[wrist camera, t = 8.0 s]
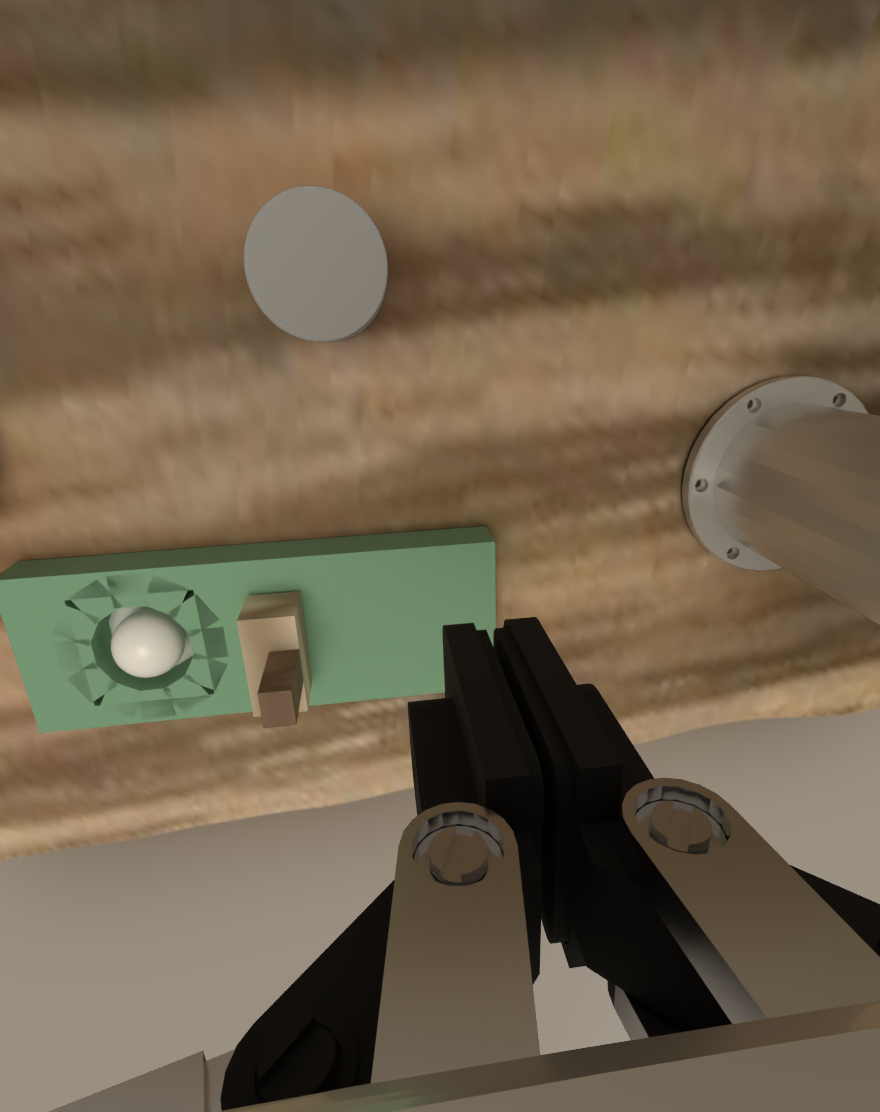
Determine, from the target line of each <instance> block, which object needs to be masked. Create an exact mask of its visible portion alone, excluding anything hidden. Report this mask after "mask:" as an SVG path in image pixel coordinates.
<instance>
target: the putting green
mask: <svg viewBox="0 0 880 1112" xmlns="http://www.w3.org/2000/svg"><path fill="white" fill-rule="evenodd" d="M297 591H300V592H301V600H302V607H303V615H304V622H305V630H306V637H307V645H308V652H309V660H310V667H311V675H312V686H311V693H310V700H309V706H312V705H322V704H332V703H342V702H352V701H362V700H372V699H382V698H392V697H402V696H412V695H422V694H432V693H441V692H445V682H444V659H443V634H442V631H443V625H453V624H464V623H474V625H475V627H476V630H487V632H488V635H489V637H490V640H491V642H492V645H493V634H494V629H496V585H495V541H494V539H493V537H492V536H491V534H490V532H489V531H488V529H487V527H486V526H479V527H465V528H452V529H439V530H425V531H412V532H399V533H385V534H372V535H359V536H346V537H332V538H319V539H306V540H292V541H279V542H266V543H252V544H239V545H226V546H213V547H199V548H186V549H173V550H159V551H146V552H133V553H119V554H106V555H93V556H80V557H66V558H53V559H40V560H26V561H18V562H16V563H15V564H13V565H12V566H11V567H9V568H8V569H6V570H5V571H3V572H2V573H0V614H1V617H2V620H3V623H4V626H5V629H6V632H7V635H8V638H9V641H10V644H11V647H12V650H13V653H14V656H15V659H16V662H17V665H18V668H19V671H20V674H21V677H22V680H23V683H24V686H25V689H26V692H27V695H28V698H29V701H30V704H31V707H32V710H33V713H34V716H35V719H36V722H37V725H38V728H39V731H40V733H45V732H55V731H65V730H74V729H84V728H94V727H104V726H114V725H124V724H134V723H144V722H154V721H164V720H174V719H184V718H193V717H203V716H213V715H223V714H233V713H243V712H253V710H252V705H251V699H250V694H249V688H248V682H247V677H246V671H245V665H244V660H243V654H242V649H241V643H240V637H239V632H238V626H237V619H238V616H239V614H240V612H241V609H242V607H243V604H244V602H245V600H246V597H247V596H249V595H261V594H273V593H285V592H297ZM143 610H157V611H161V612H163V613H166V614H169V615H170V616H172V617H173V618H174V619H175V620H176V621H177V622H178V623H179V624H180V626H181V627H182V630H183V632H184V636H185V648H184V652H183V654H182V656H181V658H180V660H179V661H178V663H177V664H176V665H175V666H174V667H173V668H172V669H170V670H169V671H167V672H166V673H164V674H161V675H159V676H155V677H149V678H142V677H136V676H133V675H130V674H128V673H126V672H125V671H123V670H122V669H121V668H120V667H119V666H118V665H117V664H116V662H115V660H114V658H113V656H112V652H111V639H112V635H113V633H114V631H115V629H116V627H117V626H118V625H119V623H120V622H121V621H122V620H124V619H125V618H126V617H128V616H129V615H131V614H133V613H136V612H139V611H143Z"/></svg>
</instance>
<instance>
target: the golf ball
mask: <svg viewBox="0 0 880 1112" xmlns="http://www.w3.org/2000/svg"><path fill="white" fill-rule="evenodd" d="M184 648H185V636H184V632H183V630H182V627H181V626H180V624H179V623H178V622H177V621H176V620H175V619H174V618H173V617H172V616H170V615H169V614H166V613H163V612H161V611H157V610H143V611H139V612H136V613H133V614H131V615H129V616H128V617H126V618H125V619H124V620H122V621H121V622H120V623H119V625H118V626H117V627H116V629H115V631H114V633H113V635H112V639H111V652H112V656H113V658H114V660H115V662H116V664H117V665H118V666H119V667H120V668H121V669H122V670H123V671H125V672H126V673H128V674H130V675H133V676H136V677H142V678H149V677H155V676H159V675H161V674H164V673H166V672H167V671H169V670H170V669H172V668H173V667H174V666H175V665H176V664H177V663H178V661H179V660H180V658H181V656H182V654H183V652H184Z"/></svg>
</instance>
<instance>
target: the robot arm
mask: <svg viewBox="0 0 880 1112" xmlns="http://www.w3.org/2000/svg"><path fill="white" fill-rule="evenodd" d="M748 402H749V404H748ZM747 405H748V406H747ZM697 481H698V482H697ZM696 482H697V484H696ZM695 484H696V485H695ZM682 499H683V508H684V512H685V517H686V521H687V523H688V525H689V527H690V529H691V531H692V533H693V535H694V537H695V538H696V539H697V540H698V542H699V543H700V544H701V545H702V546H703V548H705V549H706V550H707V551H709V552H710V553H711V554H712V555H714V556H715V557H717V558H718V559H720V560H721V561H723V562H725V563H726V564H728V565H731V566H735V567H738V568H741V569H744V570H754V571H767V570H777V569H781V568H783V569H785V570H787V571H788V572H790V573H792V574H794V575H795V576H797V577H799V578H800V579H802V580H804V581H805V582H807V583H809V584H811V585H812V586H814V587H816V588H817V589H819V590H821V591H822V592H824V593H826V594H828V595H829V596H831V597H833V598H834V599H836V600H838V601H839V602H841V603H843V604H845V605H846V606H848V607H850V608H851V609H853V610H855V611H856V612H858V613H860V614H862V615H863V616H865V617H867V618H868V619H870V620H872V621H873V622H875V623H877V624H879V625H880V416H877V415H871V414H869V413H868V412H867V410H866V408H865V407H864V405H863V403H862V402H861V401H860V400H859V399H858V398H857V397H856V396H855V395H854V394H853V393H852V392H851V391H850V390H848V389H847V388H845V387H843V386H841V385H840V384H838V383H836V382H834V381H830V380H827V379H823V378H820V377H812V376H804V375H795V376H781V377H777V378H773V379H770V380H766V381H763V382H760V383H758V384H756V385H754V386H752V387H750V388H748V389H745V390H744V391H743V392H741V393H740V394H738V395H737V396H735V397H734V398H732V399H731V400H729V401H728V402H727V403H726V404H725V405H724V406H723V407H722V408H721V409H720V410H719V411H718V412H717V413H716V414H715V415H714V416H713V417H712V418H711V419H710V421H709V422H708V423H707V425H706V426H705V427H704V429H703V430H702V431H701V433H700V435H699V437H698V438H697V440H696V442H695V444H694V446H693V448H692V450H691V452H690V455H689V458H688V461H687V464H686V467H685V472H684V478H683V485H682ZM442 634H443V659H444V682H445V698H443V699H433V700H424V701H414V702H408V716H409V731H410V745H411V757H412V769H413V779H414V789H415V798H416V807H417V817H415V818H414V819H413V820H412V821H411V822H410V823H409V825H408V826H407V827H406V829H405V830H404V831H403V834H402V837H401V840H400V844H399V848H398V857H397V865H396V873H395V880H394V881H393V882H392V883H391V884H390V885H389V886H388V887H387V888H386V889H385V890H384V891H383V892H382V893H381V894H380V895H379V896H378V897H377V898H376V899H375V900H374V901H373V902H372V903H371V904H370V905H369V906H368V907H367V909H365V910H364V912H362V913H361V915H359V916H358V917H357V919H356V920H355V921H354V922H353V923H352V924H351V925H350V926H349V927H348V928H347V929H346V930H345V931H344V932H343V933H342V934H341V935H340V936H339V937H338V938H337V939H336V940H335V941H334V942H333V943H332V944H331V945H330V946H329V947H328V948H327V949H326V950H325V951H324V952H323V953H322V954H321V955H320V956H319V957H318V958H317V959H316V961H314V963H313V964H312V965H311V966H310V967H309V968H308V969H307V970H306V971H305V972H304V973H303V974H302V975H301V976H300V977H299V978H298V979H297V980H296V981H295V982H294V983H293V984H292V985H291V986H290V987H289V988H288V989H287V990H286V991H285V992H284V993H283V994H282V995H281V996H280V997H279V998H278V999H277V1000H276V1001H275V1002H274V1004H273V1005H272V1006H271V1007H270V1008H269V1009H268V1010H267V1011H266V1012H265V1013H264V1014H263V1015H262V1016H261V1017H260V1018H259V1019H258V1020H257V1021H256V1022H255V1023H254V1024H253V1025H252V1027H251V1028H250V1029H249V1030H248V1032H247V1033H246V1034H245V1036H244V1037H243V1038H242V1040H241V1041H240V1042H239V1043H238V1045H237V1046H236V1049H235V1050H233V1051H230V1052H228V1053H225V1054H223V1055H220V1056H218V1057H215V1058H213V1059H210V1060H208V1061H206V1059H205V1055H204V1052H203V1051H201V1052H199V1053H196V1054H193V1055H191V1056H189V1057H186V1058H184V1059H181V1060H178V1061H176V1062H173V1063H171V1064H168V1065H166V1066H164V1067H161V1068H158V1069H156V1070H153V1071H150V1072H148V1073H146V1074H143V1075H140V1076H138V1077H136V1078H133V1079H130V1080H128V1081H125V1082H123V1083H120V1084H118V1085H115V1086H112V1087H110V1088H107V1089H105V1090H102V1091H100V1092H97V1093H95V1094H92V1095H90V1096H87V1097H85V1098H82V1099H80V1100H77V1101H75V1102H72V1103H69V1104H67V1105H65V1106H62V1107H59V1108H57V1109H54V1110H52V1111H49V1112H880V904H878V903H876V902H873V901H871V900H868V899H866V898H864V897H862V896H859V895H857V894H855V893H853V892H850V891H848V890H846V889H844V888H841V887H839V886H837V885H834V884H832V883H830V882H828V881H825V880H823V879H821V878H818V877H816V876H814V875H812V874H809V873H807V872H805V871H802V870H800V869H798V868H796V867H793V866H791V865H789V864H788V863H787V862H786V861H785V860H784V859H783V858H782V857H781V856H780V855H779V854H778V853H777V852H776V851H775V850H774V849H773V848H772V847H771V846H770V845H769V844H768V843H767V842H766V841H765V840H764V839H763V838H762V837H761V836H760V835H759V834H758V833H757V832H756V831H755V830H754V829H753V827H752V826H751V825H749V823H748V822H747V821H746V820H745V819H744V818H743V817H742V816H741V815H740V814H739V813H738V812H737V811H736V810H735V809H734V808H732V806H731V805H730V804H728V803H727V802H726V801H725V800H723V799H722V798H721V797H720V796H719V795H718V794H716V793H714V792H712V791H711V790H709V789H707V788H705V787H703V786H701V785H698V784H695V783H691V782H688V781H685V780H682V779H672V778H657V779H654V777H653V776H652V774H651V773H650V771H649V769H648V768H647V766H646V765H645V763H644V762H643V760H642V758H641V757H640V756H639V754H638V752H637V751H636V749H635V748H634V746H633V744H632V743H631V741H630V740H629V738H628V737H627V735H626V733H625V732H624V730H623V729H622V727H621V726H620V724H619V723H618V721H617V719H616V718H615V716H614V715H613V713H612V712H611V710H610V708H609V707H608V705H607V704H606V702H605V701H604V699H603V698H602V696H601V694H600V693H599V691H598V690H597V689H596V687H595V686H594V685H592V684H581V685H576V683H575V681H574V680H573V678H572V676H571V675H570V673H569V671H568V669H567V668H566V666H565V664H564V663H563V661H562V659H561V658H560V656H559V654H558V653H557V651H556V649H555V647H554V646H553V644H552V642H551V641H550V639H549V637H548V636H547V634H546V632H545V631H544V629H543V627H542V625H541V624H540V622H539V620H538V619H537V618H536V617H530V618H519V619H508V620H505V621H504V626H503V628H496V629H494V634H493V645H492V642H491V640H490V637H489V635H488V632H487V630H476V627H475V625H474V623H464V624H453V625H443V631H442ZM541 920H542V923H543V926H544V930H545V933H546V936H547V939H548V941H549V942H550V943H551V944H552V943H559V942H561V943H562V947H563V949H564V953H565V956H566V959H567V962H568V965H569V968H574V967H581V966H587V967H588V968H590V969H591V970H592V971H594V972H595V973H597V974H599V975H600V976H602V977H603V978H605V979H606V980H607V981H608V992H609V995H610V998H611V1001H612V1003H613V1006H614V1008H615V1010H616V1012H617V1014H618V1016H619V1018H620V1020H621V1022H622V1024H623V1026H624V1028H625V1030H626V1032H627V1033H628V1035H629V1037H630V1039H631V1041H625V1042H618V1043H612V1044H606V1045H600V1046H594V1047H587V1048H581V1049H576V1050H569V1051H564V1052H558V1053H551V1054H546V1055H540V1050H539V1040H538V1031H537V1022H536V1012H535V1003H534V994H533V984H534V982H535V980H536V979H537V977H538V976H539V974H540V938H541V936H540V935H541Z"/></svg>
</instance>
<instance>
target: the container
mask: <svg viewBox="0 0 880 1112" xmlns="http://www.w3.org/2000/svg"><path fill="white" fill-rule="evenodd" d="M244 268H245V274H246V279H247V282H248V286H249V288H250V291H251V293H252V295H253V297H254V299H255V301H256V303H257V304H258V306H259V307H260V309H261V310H262V311H263V313H264V314H265V315H266V316H267V317H268V318H269V319H270V320H271V321H272V322H273V323H274V324H275V325H277V326H278V327H279V328H281V329H282V330H284V331H285V332H287V333H289V334H291V335H293V336H295V337H298V338H301V339H305V340H309V341H317V342H332V341H340V340H344V339H348V338H350V337H353V336H355V335H357V334H358V333H360V332H361V331H363V330H364V329H365V328H366V327H367V326H368V325H369V324H370V323H371V322H372V321H373V320H374V318H375V317H376V315H377V314H378V312H379V310H380V308H381V306H382V303H383V300H384V297H385V292H386V285H387V277H388V263H387V255H386V250H385V246H384V243H383V240H382V237H381V235H380V233H379V231H378V229H377V227H376V225H375V224H374V222H373V221H372V219H371V218H370V216H369V215H368V214H367V213H366V212H365V210H364V209H363V208H362V207H361V206H359V205H358V204H357V203H356V202H355V201H353V200H352V199H351V198H349V197H348V196H346V195H344V194H342V193H340V192H338V191H336V190H333V189H330V188H326V187H322V186H311V185H308V186H299V187H294V188H290V189H288V190H285V191H283V192H281V193H279V194H277V195H276V196H274V197H273V198H271V199H270V200H269V201H268V202H267V203H265V204H264V205H263V207H262V208H261V209H260V210H259V211H258V213H257V214H256V216H255V217H254V219H253V221H252V223H251V225H250V227H249V230H248V233H247V236H246V241H245V246H244Z"/></svg>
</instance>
